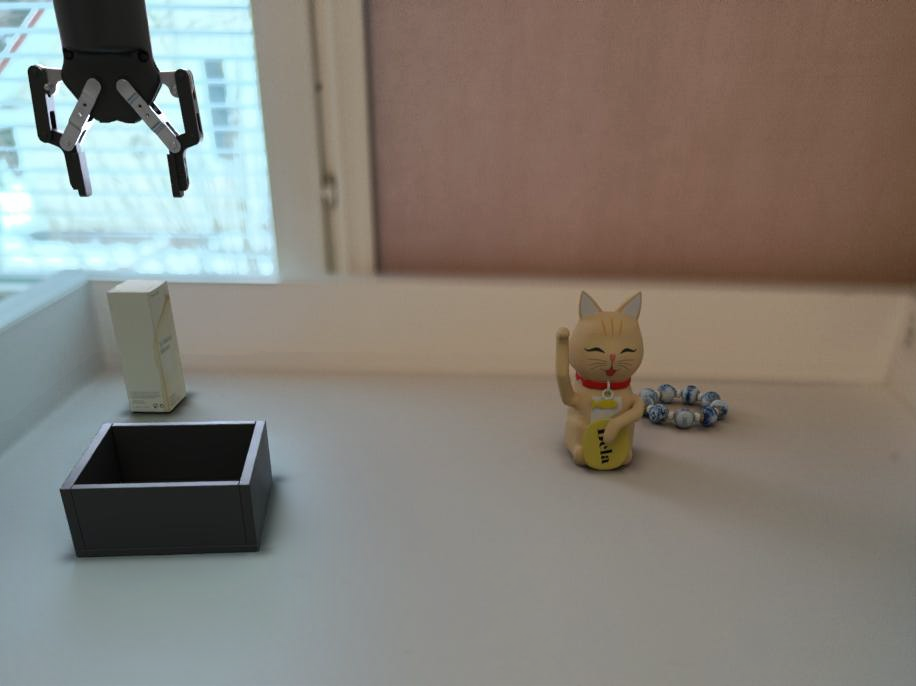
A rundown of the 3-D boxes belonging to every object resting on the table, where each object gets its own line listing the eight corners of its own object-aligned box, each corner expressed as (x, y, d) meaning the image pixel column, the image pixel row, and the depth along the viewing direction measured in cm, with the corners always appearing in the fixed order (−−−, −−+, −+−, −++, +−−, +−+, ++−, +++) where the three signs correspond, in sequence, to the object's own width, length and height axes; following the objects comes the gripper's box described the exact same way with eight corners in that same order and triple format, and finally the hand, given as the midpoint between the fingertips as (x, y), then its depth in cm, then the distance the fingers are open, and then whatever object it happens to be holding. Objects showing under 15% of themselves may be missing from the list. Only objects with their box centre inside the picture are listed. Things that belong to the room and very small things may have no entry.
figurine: (553, 475, 84) (565, 307, 76) (543, 436, 92) (553, 281, 84) (645, 475, 84) (666, 308, 76) (627, 437, 92) (645, 282, 84)
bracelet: (621, 419, 97) (623, 401, 95) (650, 393, 104) (652, 376, 103) (712, 436, 93) (715, 417, 92) (735, 408, 100) (738, 390, 99)
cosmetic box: (170, 414, 95) (149, 293, 88) (128, 412, 95) (103, 291, 88) (187, 394, 100) (169, 278, 94) (147, 393, 100) (126, 277, 94)
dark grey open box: (76, 557, 69) (58, 489, 66) (116, 484, 80) (103, 423, 77) (258, 551, 70) (249, 484, 67) (272, 480, 82) (265, 420, 79)
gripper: (190, -10, 81) (214, 192, 90) (23, -15, 80) (65, 190, 88) (175, -13, 75) (203, 203, 84) (-6, -20, 73) (42, 201, 82)
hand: (132, 196), depth 86 cm, fingers open, 8 cm apart
